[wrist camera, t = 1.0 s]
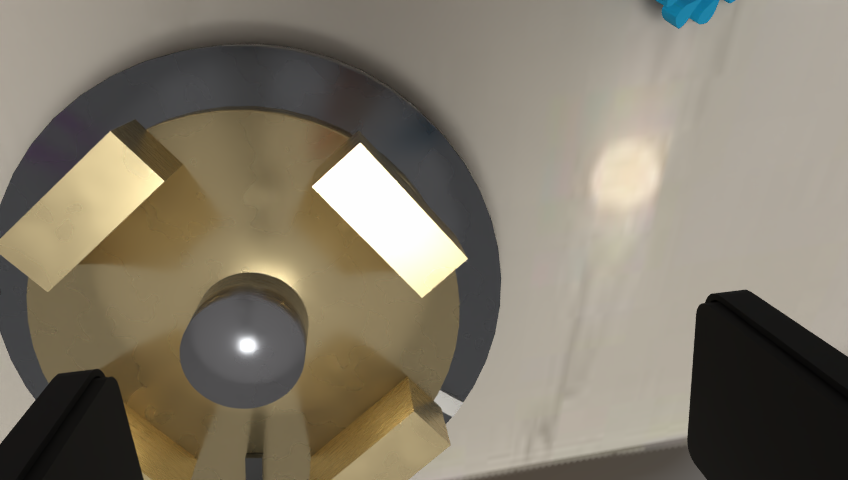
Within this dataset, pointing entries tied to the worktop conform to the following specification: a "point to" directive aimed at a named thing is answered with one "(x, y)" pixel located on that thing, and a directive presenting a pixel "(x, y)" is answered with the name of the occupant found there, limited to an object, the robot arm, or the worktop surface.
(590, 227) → the worktop surface
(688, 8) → the gear
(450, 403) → the cap flange
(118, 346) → the four-jaw chuck
